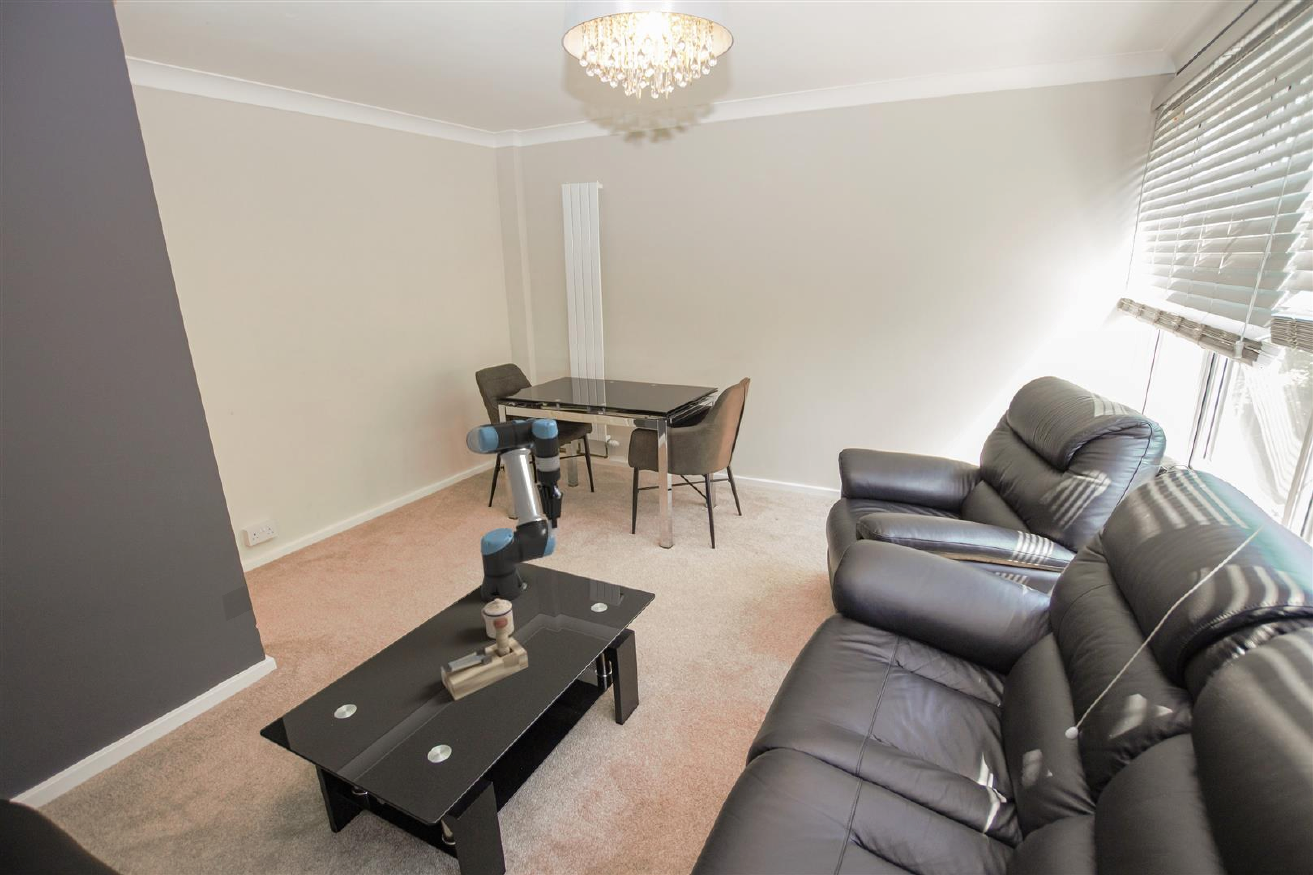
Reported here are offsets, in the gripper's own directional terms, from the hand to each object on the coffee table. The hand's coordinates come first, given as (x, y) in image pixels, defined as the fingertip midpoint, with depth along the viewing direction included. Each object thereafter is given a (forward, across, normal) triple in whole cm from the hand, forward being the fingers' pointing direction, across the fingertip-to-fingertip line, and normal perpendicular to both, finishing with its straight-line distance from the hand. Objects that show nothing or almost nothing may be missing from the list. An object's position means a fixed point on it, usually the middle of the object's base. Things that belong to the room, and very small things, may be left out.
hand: (553, 536), depth 192 cm
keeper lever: (+23, +13, -38) cm, 46 cm away
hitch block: (+29, +13, -32) cm, 45 cm away
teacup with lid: (+30, -6, -20) cm, 36 cm away
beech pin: (+29, +13, -26) cm, 41 cm away
